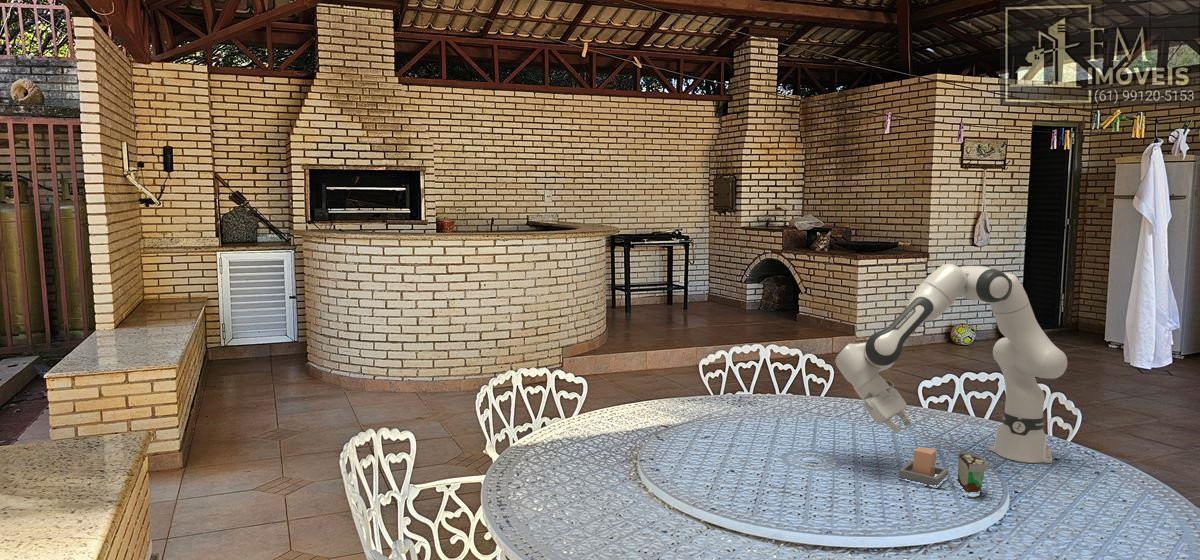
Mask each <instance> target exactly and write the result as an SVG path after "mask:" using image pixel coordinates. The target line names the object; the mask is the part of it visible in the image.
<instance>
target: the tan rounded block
mask: <svg viewBox="0 0 1200 560" xmlns="http://www.w3.org/2000/svg"><path fill="white" fill-rule="evenodd" d="M912 459H913V470H912V472H914V473H919V474H923V475H927V476H931V477H934V476H935V467H936V461H937V450H936V449H933V448H927V447H923V446H918V447H917V448H915V449H914V450H913V458H912Z"/></svg>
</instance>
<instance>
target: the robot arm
mask: <svg viewBox="0 0 1200 560" xmlns="http://www.w3.org/2000/svg"><path fill="white" fill-rule="evenodd" d="M957 298H964V299H967V300H969V301H978V302H985V303H989V305H990V307H991V310H992V314H993V316H994V319H995V322H996V325H997V327H998V330H999V332H1000V333H1001V334H1002V335H1003V336H1004V337H1001V338H999V339H998V340H997V341H996V342H995V344H994V346H993V348H992V356H993V360H994V361H996V363H997V364H998V366H999V368H1000V369H1001V372H1002V377H1003V380H1004V383H1005V385H1004V386H1005V404H1004V411H1003V412H1002V416H1001V417H1002V419H1001V420H1002V423H1001V424H1000V425H998V426H997V427H996V431H995V432H996V433H995V439H994V444H993V445H990V446H989V447H988V450H989V451H991V452H993V453H995V454H996V455H998V456H1000V457H1001V458H1004V459H1008V460H1012V461H1015V462H1022V463H1030V464H1031V463H1033V464H1037V463H1044V464H1051V463H1052V464H1053V456H1052V450H1051V448H1050V447H1049V446H1048V445H1047V438H1048V437H1047V436H1046V433H1045V431H1044V426H1045V417H1044V406H1045V405H1044V404H1045V393H1044V391H1043V389H1042V388H1041V387H1040V385H1039V384H1038V382H1037V379H1036V378H1040V379H1058V378H1059V377H1060V378H1061V376H1062V375H1064V373H1065V372H1066V370H1067V368H1068V358H1067V355H1066V353H1065V352H1064V351H1062V350H1061V349H1060V348H1058V347H1057V346H1056V345H1055V344H1054V343H1053V341H1051V339H1049V337H1048V336H1047V333H1045V332H1044V330H1043V329H1042V327H1041V326H1040V324H1039V323H1038V320H1037V319H1036V316H1035V313H1034V311H1033V308H1032V306H1031V303H1030V300H1029V297H1028V294H1027V292H1026V291H1025V288H1024V286H1023V285H1022V283H1021V281H1020V280H1019V278H1018V277H1017V276H1016V275H1015V274H1013V273H1010V272H1003V271H1001V270H999V269H996V268H990V267H987V266H982V265H969V264H960V265H956V264H953V263H945V264H942V265H940V266H939V267H938V268H936V269H935V270H934V271H932V273H930V274H929V275H927V277H926V278H925V279H924V280H923V281H922V282H921V283H920V284H919V285H918V286H917V288H916V289H915V290H914V291H913V293H912V294H911V296H910V297H909V300H908V303H907V305H906V307H905V309H904V310H903V311H902V312H901V313H900V314H899V315H898V316H897V317H896V318H895V319H894V320H893V322H892V323H890V324H889V325H888V326H887V327H886V328H884V329H882V330H879V331H876V332H875V333H873V334H872V335H870V336H869V337H868V338H867V340H866V342H861V343H847V344H846V345H844V346H842V348H840V350H839V351H838V353H837V354H836V356H835V359H834V363H835V364H836V366H837V369H838V370H839V371H840V372H841V375H842V376H843V377H844V378H845V379H846V381H847V382H848V383H850V384H851V385H852V387H853V388H854V390H855V392H856V393H857V395H858V396H859V397H860V399H861V400H862V401H863V402H864V407H865V409H866V411H867V412H868V414H869V415H870V417H871V418H872V420H873V421H874V422H875V424H877V425H882V424H884V425H886V427H888V428H889V429H891V430H892V431H893V433H895V434H898V433H900V432H901V431H902V428H901V427H900V426H899V425H897V423H895V422H894V419H892V418H894V417H896V416H898V418H899V419H900V420H901V422H902V424H903V425H904V427H905V428H907V427H909V426H911V425H912V422H911V421H910V419H909V417H908V414H907V412H906V411H905V410H906V409H907V408H908V405H907V403H906V401H905V399H904V398H903V397H902V395H901V394H900V393H899V392H898V390H897V389H896V388H894V387H895V384H894V383H893V382H892V381H891V380H887V379H885V378H883V377H882V376H881V375H880V374H879V373H880V372H882V371H885V370H888V369H889V368H891V367H893V365H894V364H895V363H896V361H897V360H898V359H899V357H900V355H901V354H902V349H903V345H904V343H905V342H906V341H907V340H908V339H909V337H910V336H912V334H913V333H914V332H915V331H916V330H917V329H918V328H919V327H920V326H921V325H922V324H923V323H925V322H928V321H934V320H936V319H937V318H938V317H940V316H941V315H942V314H944V313H945V312H946V311H947V310H948V309H950V307H951V306H952V304H954V303H955V301H956V300H957Z"/></svg>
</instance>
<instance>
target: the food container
mask: <svg viewBox="0 0 1200 560" xmlns="http://www.w3.org/2000/svg"><path fill="white" fill-rule="evenodd" d="M957 458H958V463H957V464H958V465H957V481H958V482H959V483H960V485H961V486H962V487H963V489H964V490H965V491H966V492H968V493H970V492H978V491H980V490H981V491H982V486H983V482H984V476H985V474H984V473H985V472H986V471H987V470H988V464H987V461H986V459H985V458H984V457H982V456H979V455H977V454H974V453H971V452H965V451H958V456H957Z"/></svg>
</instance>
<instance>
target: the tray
mask: <svg viewBox="0 0 1200 560" xmlns="http://www.w3.org/2000/svg"><path fill="white" fill-rule="evenodd" d="M912 470H913V461H912V460H910V461H909V462H907V463H906V464H904V466H902V467H901V468H900V469H898V477H897V478H901V479H907V480H910V481H915V482H920V483H924V484H930V485H936V486H937V485H938V484H939V483H940V482H941V481H942V480H943V479H944V478H945V477H946V476H947V475H948V476H949V469H948V468H943V467H938V466H935V474H938V475H937V476H936V477H931V476H927V475H923V474H919V473H914V472H912Z"/></svg>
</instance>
